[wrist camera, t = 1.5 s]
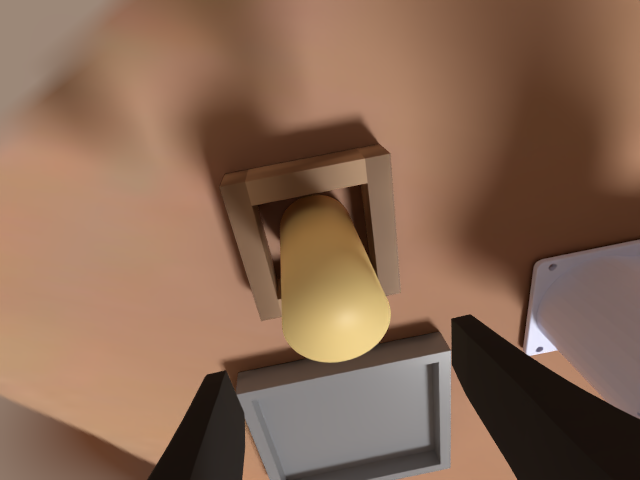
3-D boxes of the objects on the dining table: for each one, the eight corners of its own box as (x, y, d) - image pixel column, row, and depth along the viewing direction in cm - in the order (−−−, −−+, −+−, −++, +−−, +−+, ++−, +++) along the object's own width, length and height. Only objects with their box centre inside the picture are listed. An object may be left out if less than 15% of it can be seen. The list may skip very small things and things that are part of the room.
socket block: (379, 143, 19) (390, 153, 17) (390, 273, 22) (400, 292, 21) (224, 174, 18) (219, 187, 17) (262, 299, 22) (261, 321, 20)
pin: (346, 187, 19) (386, 265, 12) (354, 251, 21) (394, 350, 14) (272, 202, 19) (270, 288, 12) (287, 265, 21) (294, 371, 14)
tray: (439, 331, 25) (450, 350, 23) (441, 446, 31) (450, 467, 29) (238, 372, 25) (235, 394, 23) (279, 480, 31) (279, 504, 29)
